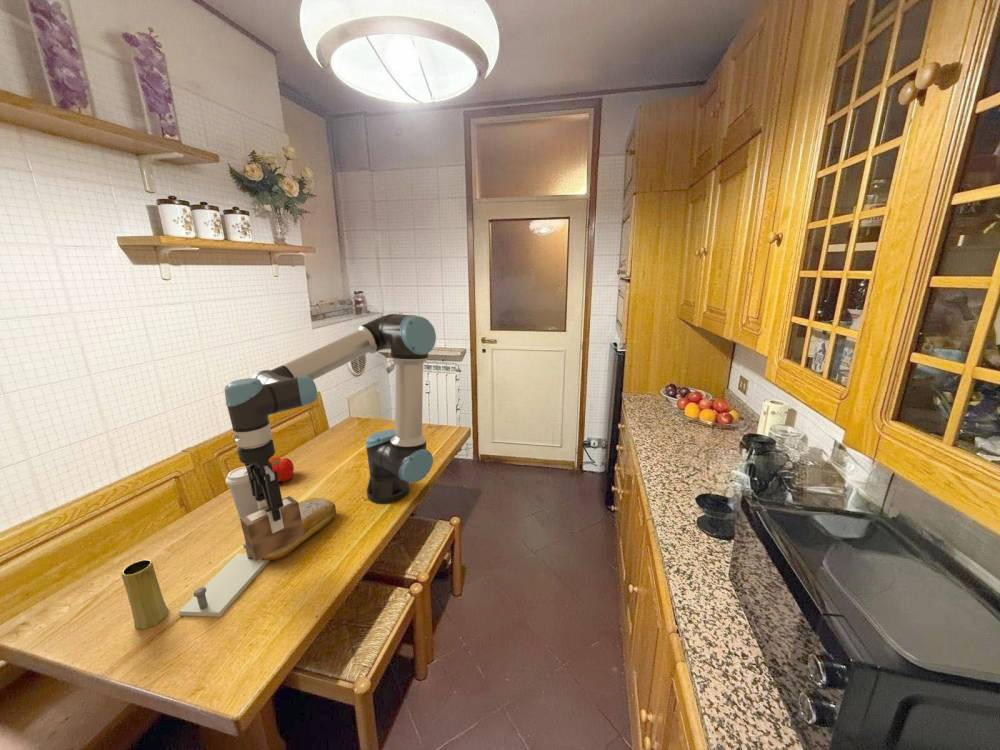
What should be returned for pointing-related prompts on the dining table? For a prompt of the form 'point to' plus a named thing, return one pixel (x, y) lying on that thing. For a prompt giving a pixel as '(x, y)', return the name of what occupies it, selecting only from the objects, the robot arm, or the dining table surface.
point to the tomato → (282, 468)
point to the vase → (144, 594)
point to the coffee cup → (242, 491)
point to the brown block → (260, 531)
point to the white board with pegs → (224, 586)
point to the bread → (308, 523)
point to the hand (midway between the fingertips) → (273, 525)
